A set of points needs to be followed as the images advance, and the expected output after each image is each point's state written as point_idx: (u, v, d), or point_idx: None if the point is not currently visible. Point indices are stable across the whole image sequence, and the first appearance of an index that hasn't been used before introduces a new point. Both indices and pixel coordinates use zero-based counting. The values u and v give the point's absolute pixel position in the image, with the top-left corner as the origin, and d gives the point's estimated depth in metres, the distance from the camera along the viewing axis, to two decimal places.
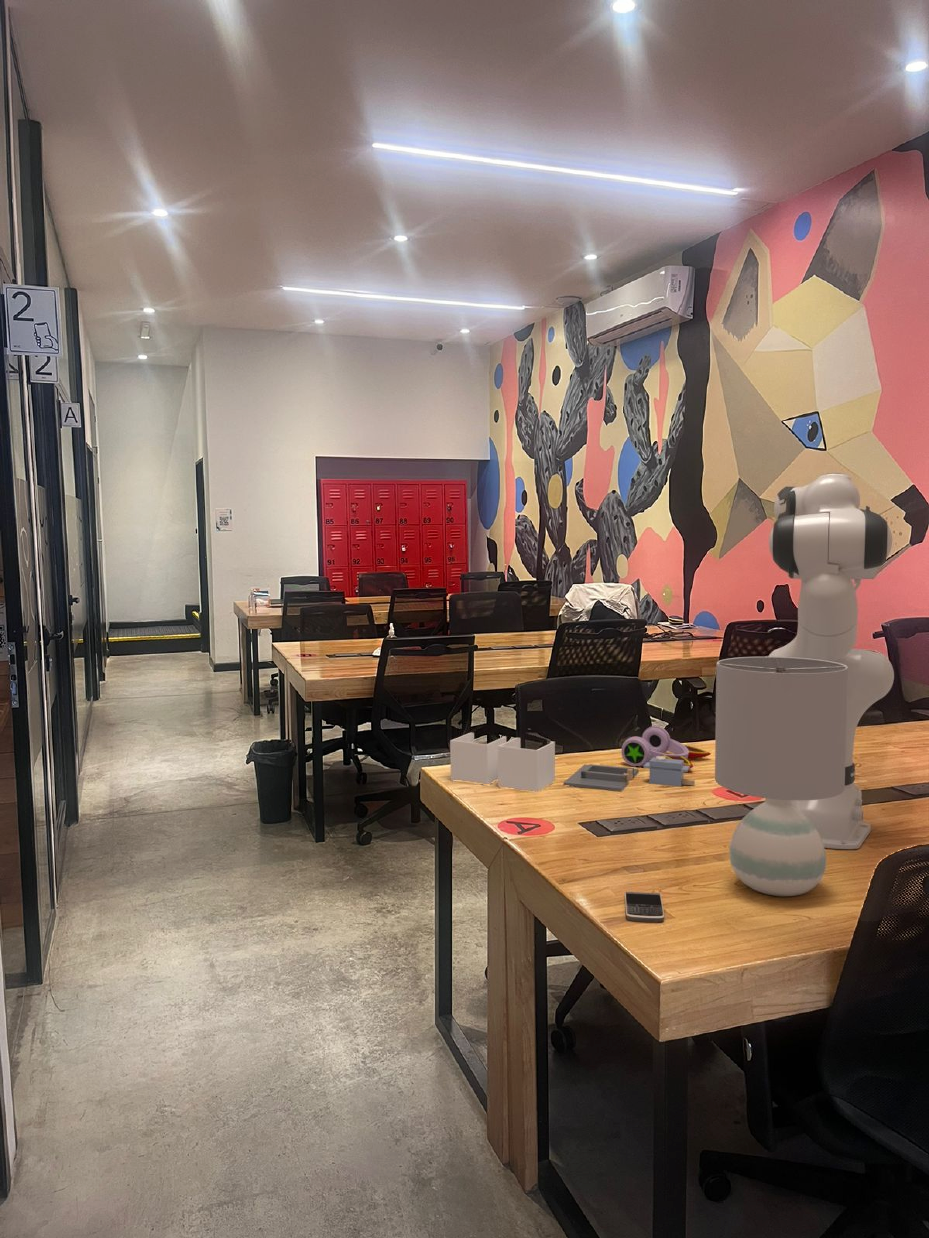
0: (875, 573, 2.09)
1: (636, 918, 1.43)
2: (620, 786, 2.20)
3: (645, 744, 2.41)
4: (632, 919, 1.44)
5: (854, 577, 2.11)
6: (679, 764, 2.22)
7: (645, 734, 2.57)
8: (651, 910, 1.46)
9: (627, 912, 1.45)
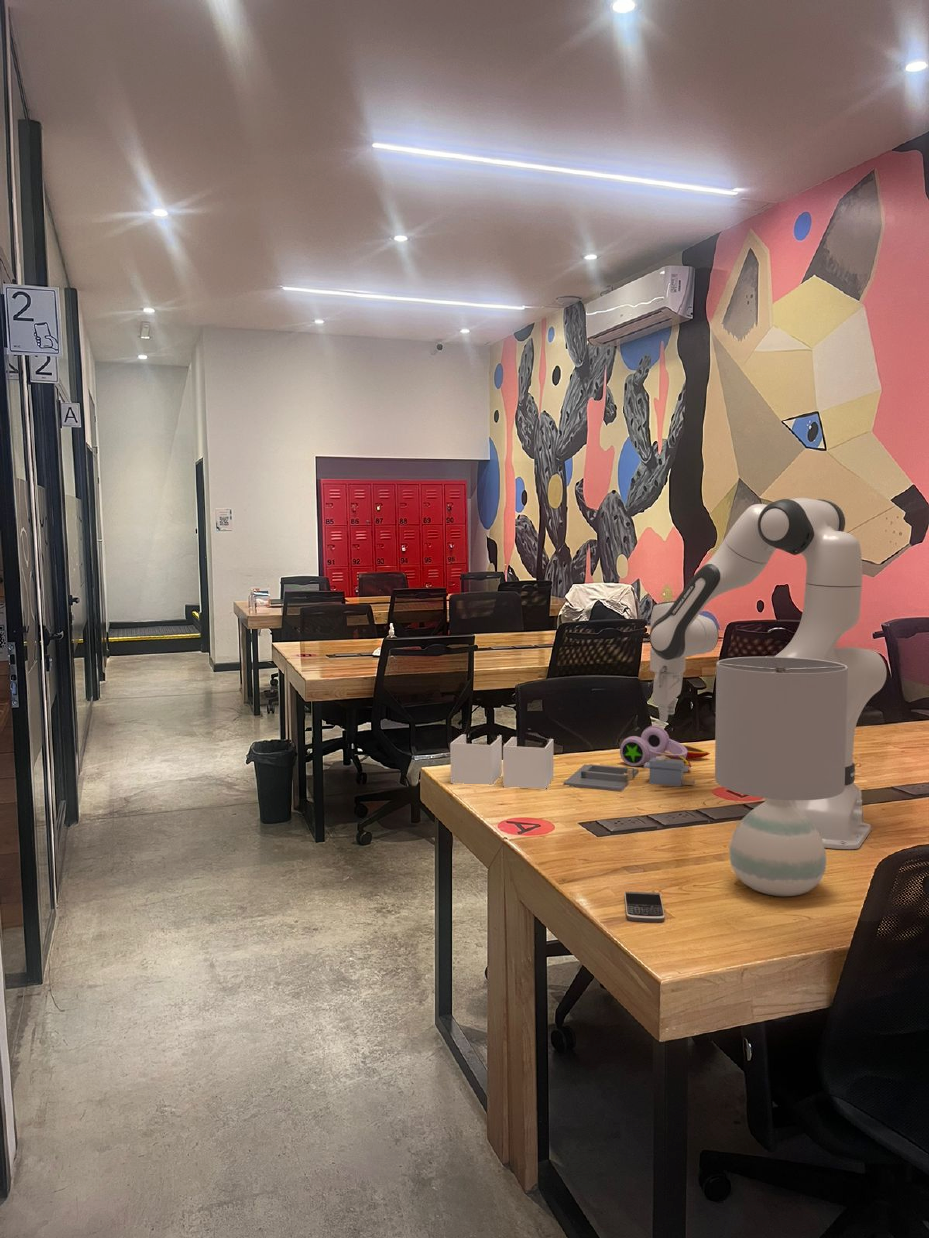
0: None
1: (637, 918, 1.43)
2: (620, 786, 2.20)
3: (643, 744, 2.42)
4: (633, 919, 1.44)
5: (677, 695, 2.28)
6: (679, 764, 2.22)
7: (644, 734, 2.58)
8: (652, 910, 1.46)
9: (627, 912, 1.45)
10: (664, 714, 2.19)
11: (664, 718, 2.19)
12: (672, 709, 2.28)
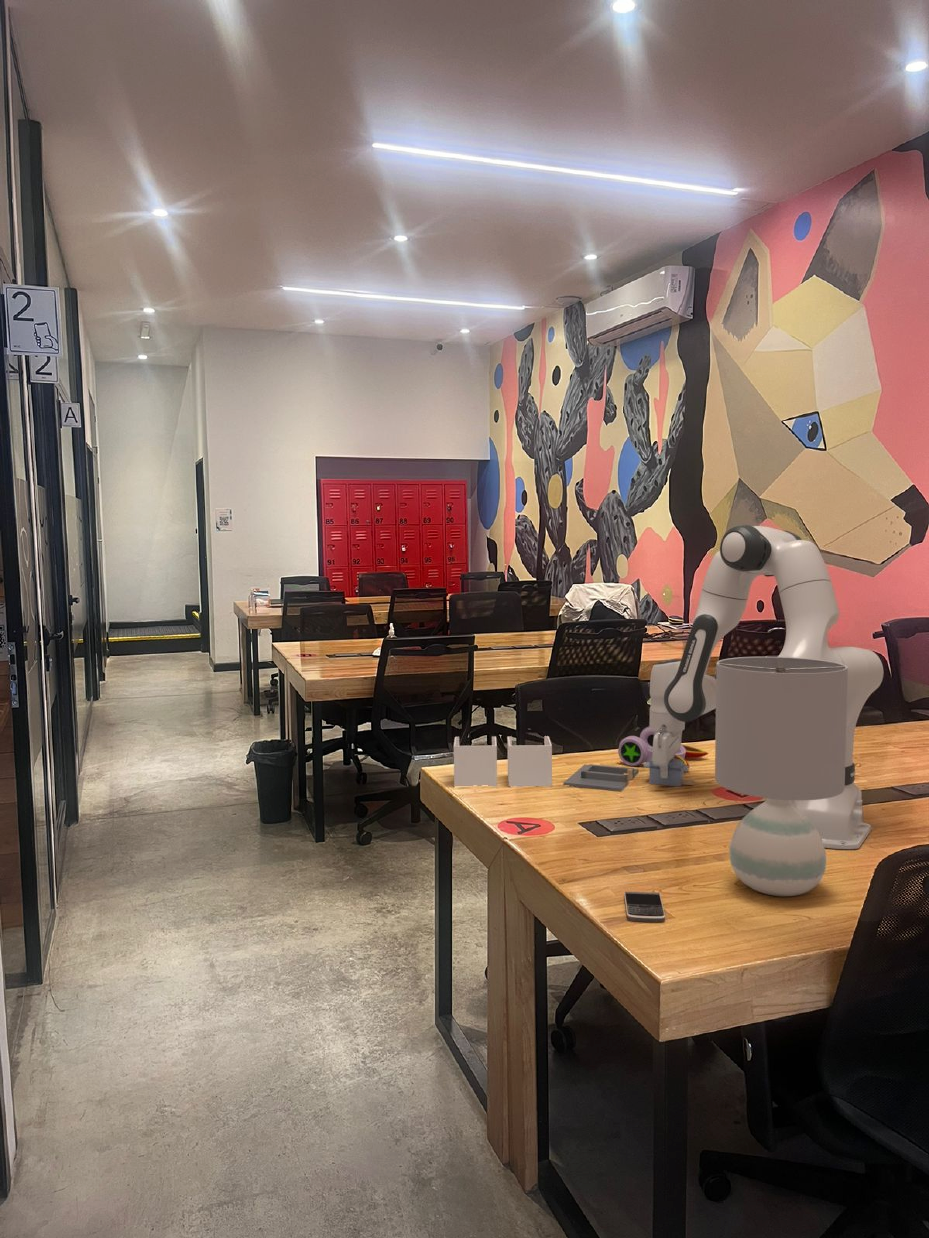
0: None
1: (637, 918, 1.43)
2: (620, 786, 2.20)
3: (642, 743, 2.42)
4: (633, 919, 1.44)
5: (677, 751, 2.30)
6: (679, 764, 2.22)
7: (643, 734, 2.58)
8: (652, 910, 1.46)
9: (628, 912, 1.45)
10: (665, 771, 2.22)
11: (665, 775, 2.23)
12: None
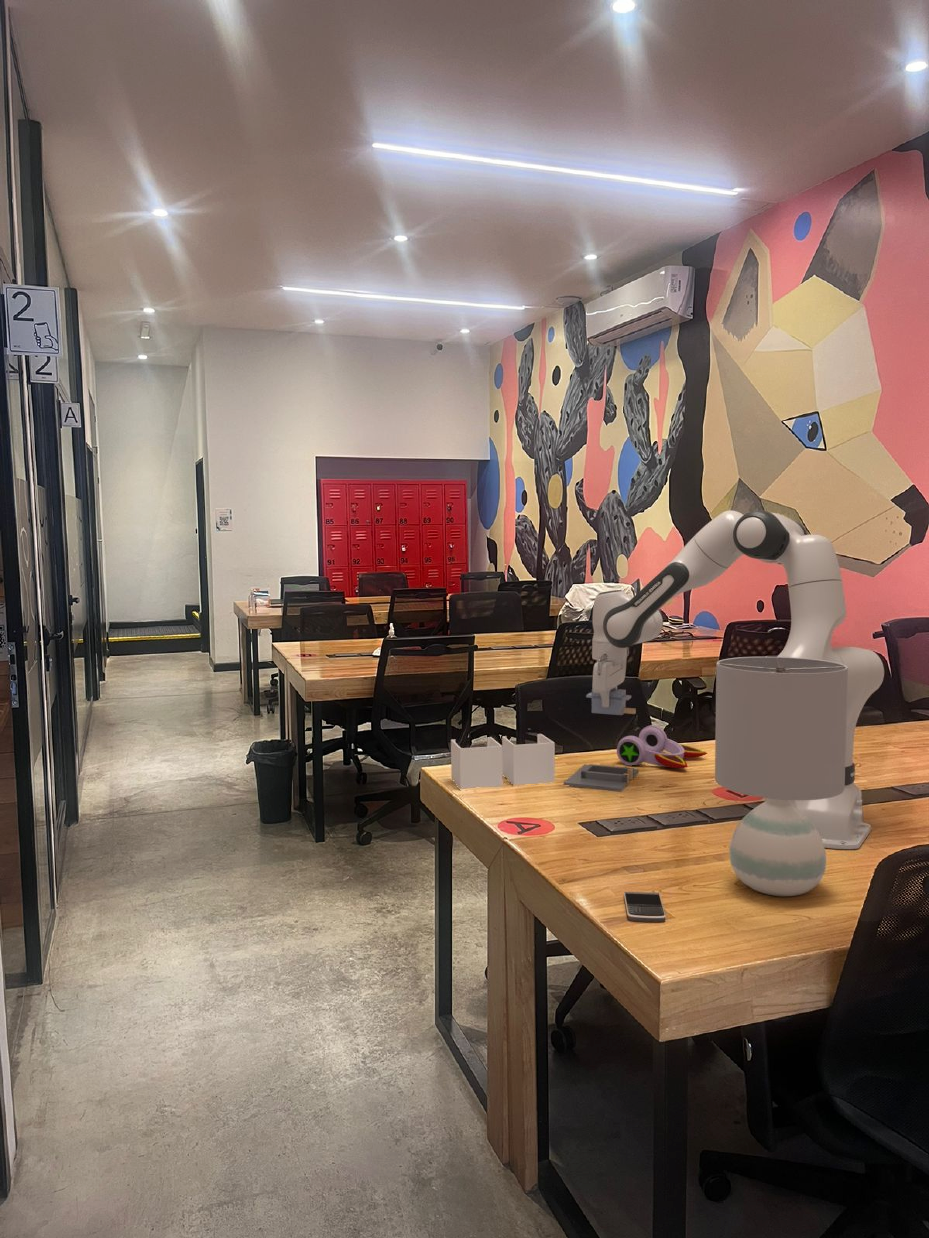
0: None
1: (638, 918, 1.43)
2: (620, 786, 2.20)
3: (640, 743, 2.42)
4: (634, 919, 1.44)
5: (620, 682, 2.32)
6: (620, 693, 2.25)
7: (642, 733, 2.58)
8: (652, 910, 1.46)
9: (628, 912, 1.45)
10: (606, 700, 2.25)
11: (606, 704, 2.26)
12: None
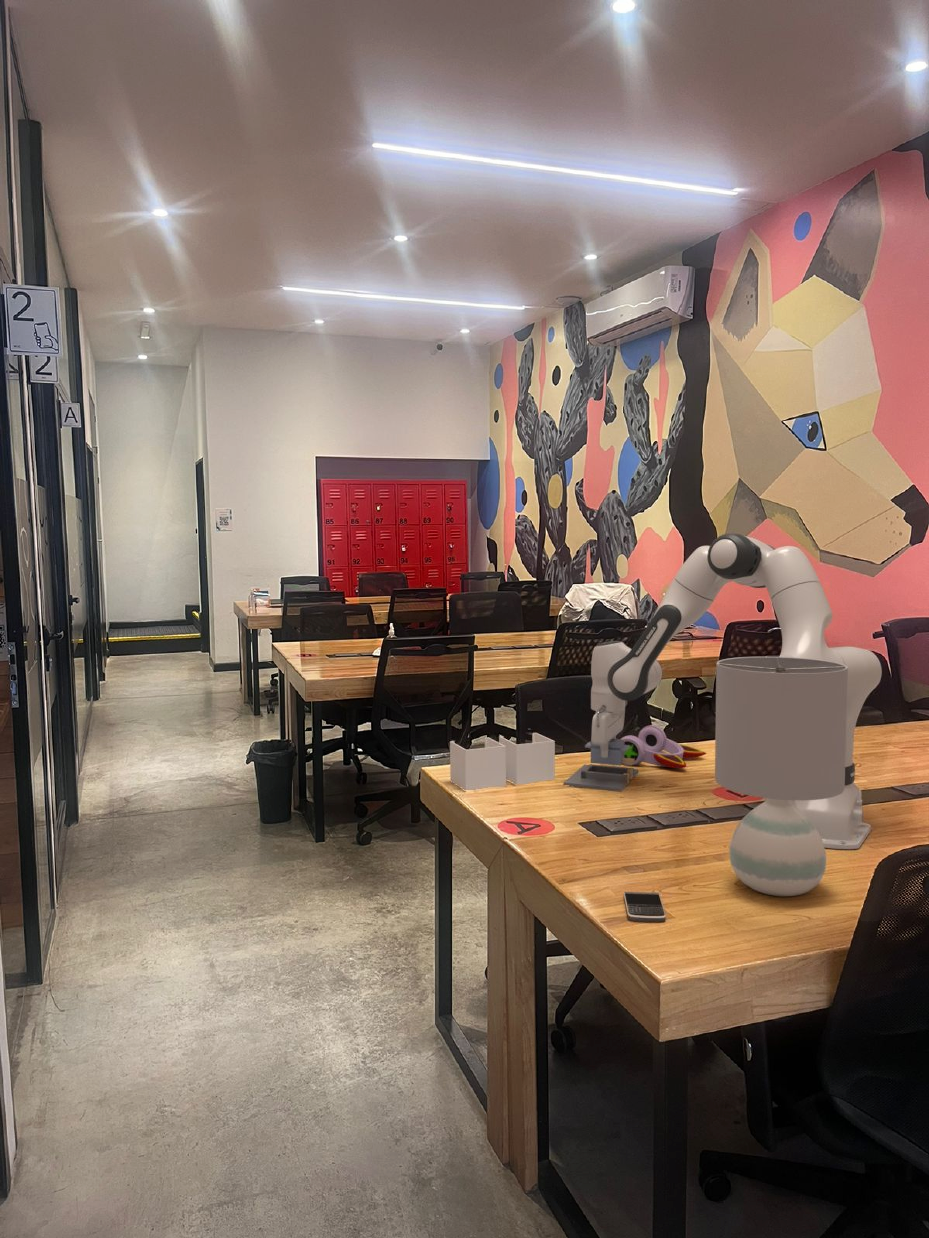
0: None
1: (638, 918, 1.43)
2: (620, 786, 2.20)
3: (639, 743, 2.42)
4: (634, 919, 1.44)
5: (619, 732, 2.33)
6: (619, 743, 2.26)
7: (641, 733, 2.59)
8: (653, 910, 1.46)
9: (629, 912, 1.45)
10: (605, 750, 2.26)
11: (605, 754, 2.27)
12: None
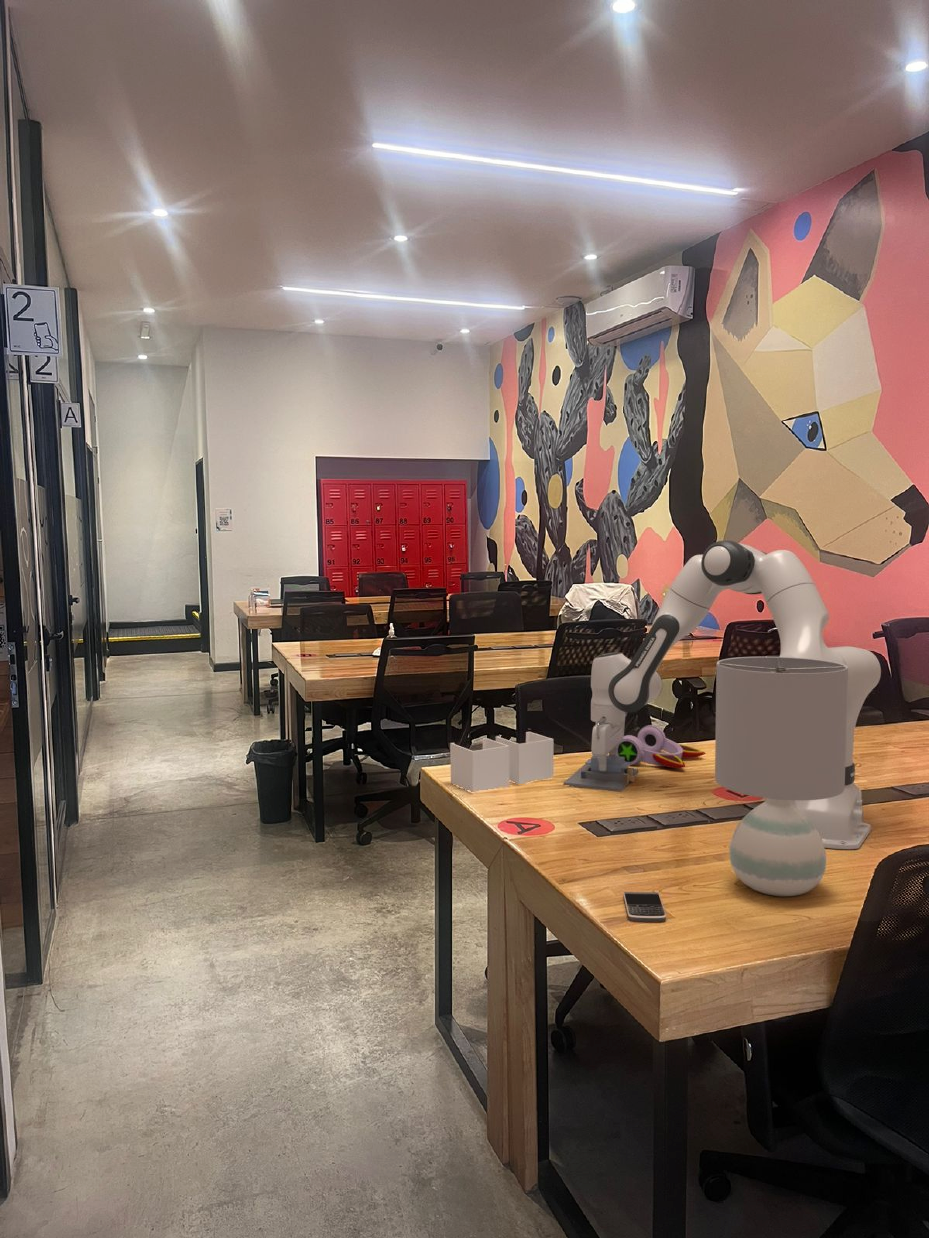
0: None
1: (639, 918, 1.43)
2: (620, 786, 2.20)
3: (638, 743, 2.43)
4: (634, 920, 1.44)
5: (619, 743, 2.34)
6: (619, 761, 2.27)
7: (640, 733, 2.59)
8: (653, 910, 1.46)
9: (629, 913, 1.45)
10: (603, 764, 2.25)
11: (603, 767, 2.25)
12: None
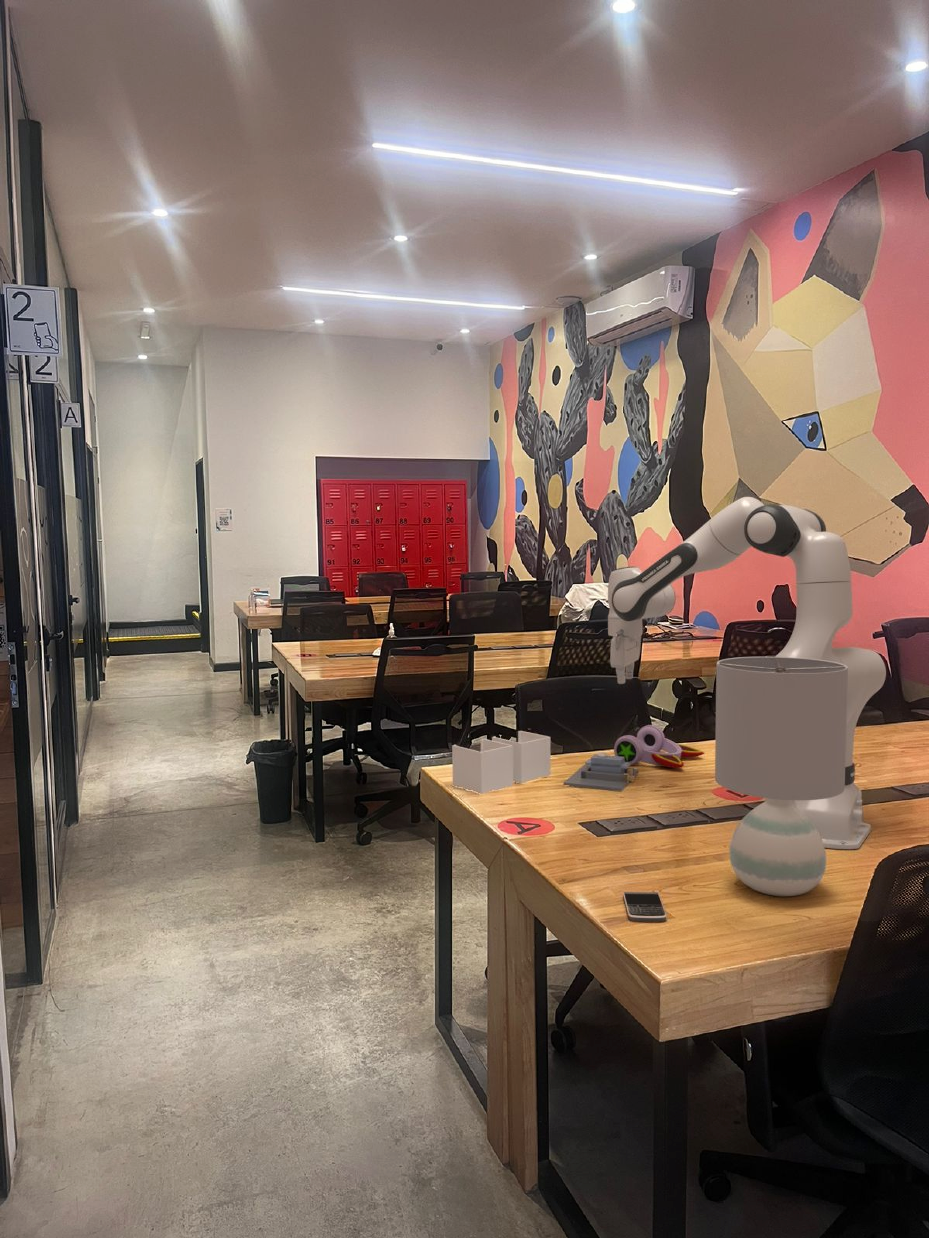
0: None
1: (639, 918, 1.43)
2: (620, 786, 2.20)
3: (637, 743, 2.43)
4: (635, 920, 1.44)
5: (635, 660, 2.34)
6: (619, 761, 2.27)
7: (640, 733, 2.59)
8: (653, 910, 1.46)
9: (629, 913, 1.45)
10: (622, 676, 2.25)
11: (622, 680, 2.25)
12: (630, 673, 2.34)
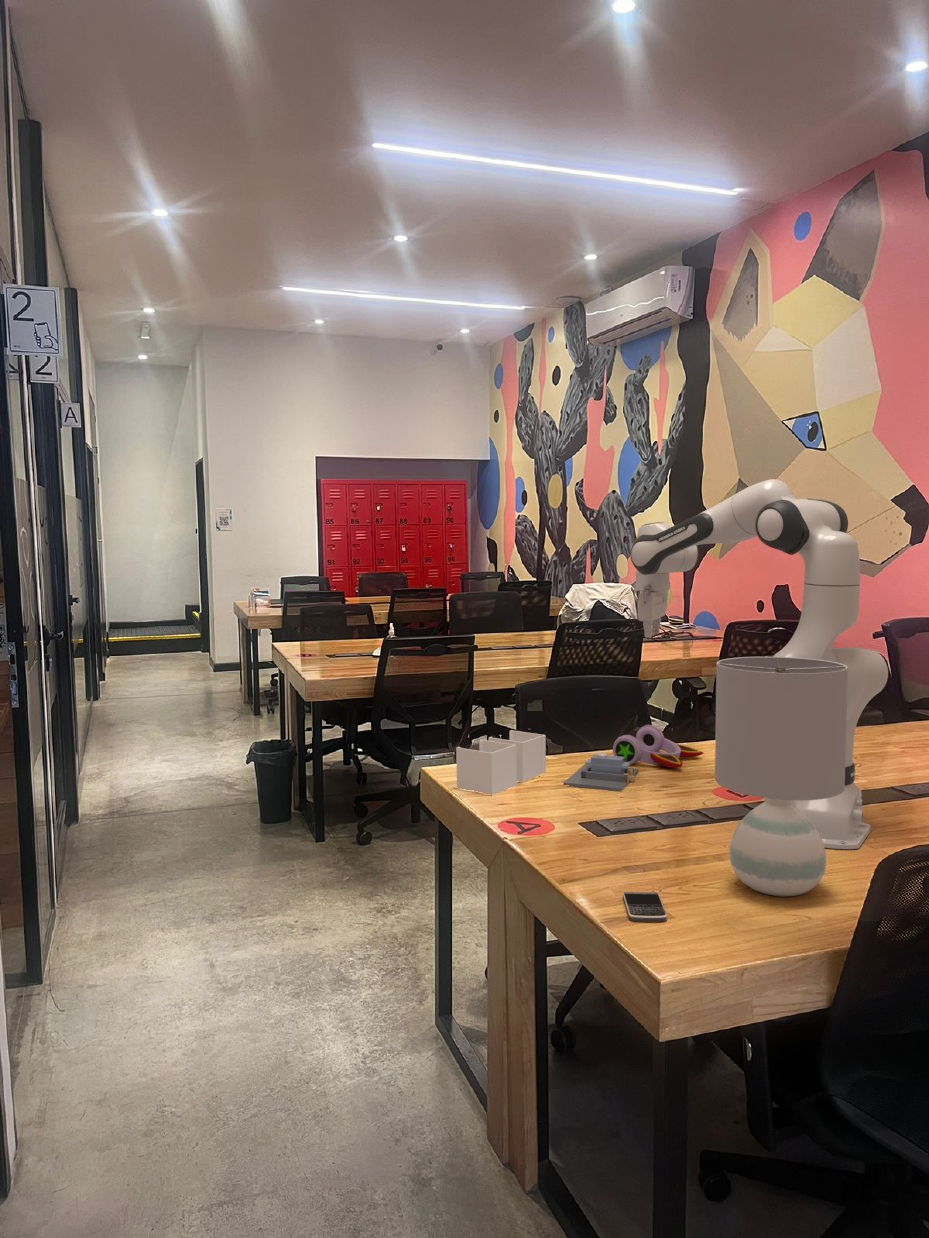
0: None
1: (639, 918, 1.43)
2: (620, 786, 2.20)
3: (636, 742, 2.43)
4: (635, 919, 1.44)
5: (662, 615, 2.38)
6: (619, 761, 2.27)
7: (639, 733, 2.59)
8: (653, 910, 1.46)
9: (630, 913, 1.45)
10: (649, 630, 2.29)
11: (649, 634, 2.29)
12: (657, 628, 2.38)
